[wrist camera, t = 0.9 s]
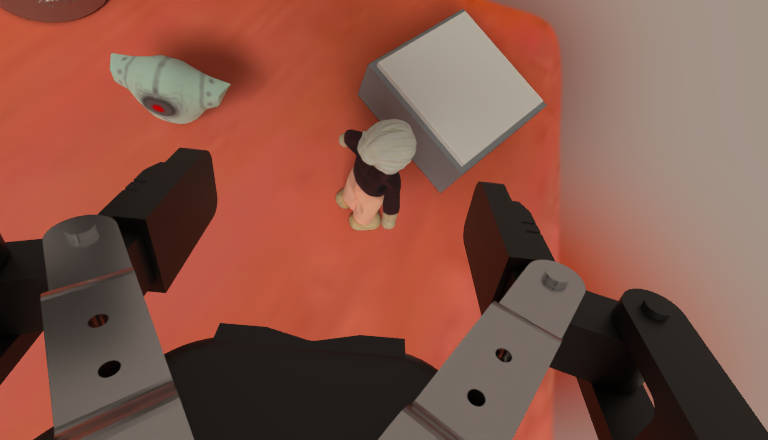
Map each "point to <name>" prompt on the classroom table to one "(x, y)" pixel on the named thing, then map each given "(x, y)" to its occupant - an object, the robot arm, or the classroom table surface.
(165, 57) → the robot head
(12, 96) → the classroom table surface
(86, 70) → the classroom table surface
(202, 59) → the classroom table surface
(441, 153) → the plinth
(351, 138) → the grandmother figurine
